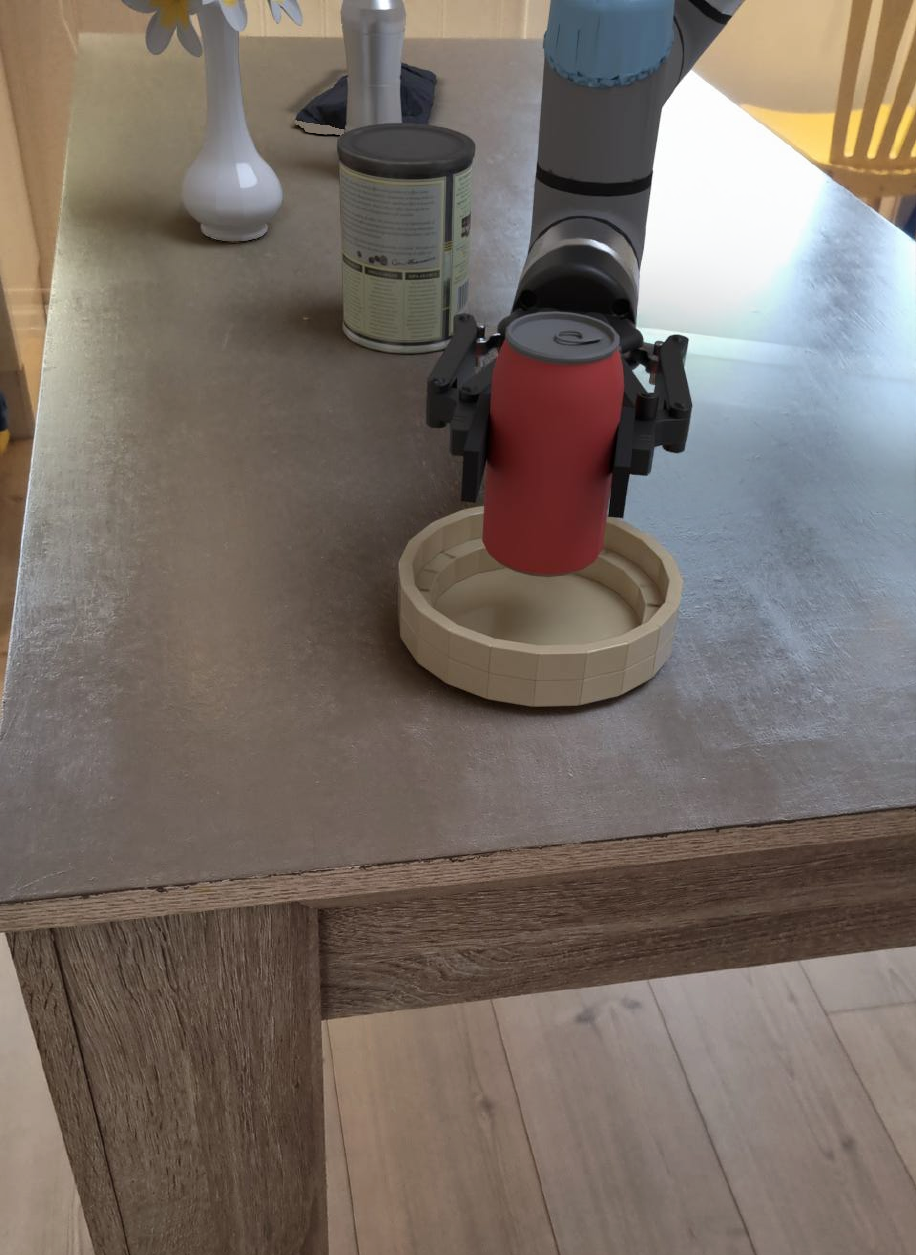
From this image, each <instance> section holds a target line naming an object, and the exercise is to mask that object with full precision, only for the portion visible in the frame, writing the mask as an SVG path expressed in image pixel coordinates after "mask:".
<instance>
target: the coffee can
mask: <svg viewBox="0 0 916 1255" xmlns="http://www.w3.org/2000/svg"><path fill="white" fill-rule="evenodd" d="M336 151H337V154H338V181H339V185H338V186H339V214H340V216H339V217H340V221H339V222H340V244H341V248H340V250H341V251H340V252H341V282H342V284H341V285H342V290H341V291H342V316H343V317H342V318H343V320H342V331H343V334H344V335H345V336H346V337H347V338H348V339H349V340H350V341H351V342H354V343H355V344H357V345H359V346H362V347H364V348H366V349H369V350H374V351H377V352H378V351H380V352H381V353H382V352H383V353H390V354H404V355H405V354H407V355H408V354H409V355H410V354H412V355H413V354H424V353H433V352H438V351H442V350H445V348H446V347H447V345H448V344H449V342H450V340H451V339H452V337H453V319H454V316H455V315H457V314H462V313H466V314H468V300H469V299H468V298H469V296H468V295H469V276H470V274H469V273H470V272H469V271H470V252H471V251H470V250H471V246H470V245H471V223H472V222H471V221H472V198H473V197H472V195H473V194H472V193H473V168H474V165H473V164H474V158H475V155H476V143H475V141H474V140H473V139H472V138H471V137H470V136H468V135H466V134H464V133H463V132H460V131H457V130H454V129H451V128H448V127H444V126H437V125H435V124H434V125H432V124H427V125H425V124H414V123H385V124H376V125H368V126H364V127H359V128H356V129H353V130H350V131H348V132H346V133H344V134H342V135H341V136H338V137H337V140H336Z"/></svg>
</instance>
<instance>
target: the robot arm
mask: <svg viewBox="0 0 916 1255" xmlns="http://www.w3.org/2000/svg"><path fill="white" fill-rule="evenodd" d="M746 1H747V0H550V1H549V10H548V17H547V18H548V19H547V26H546V30H545V32H544V34H543V38H542V49H543V70H542V71H543V72H542V87H541V100H540V115H539V130H538V145H537V159H536V160H537V161H536V170H535V178H534V187H533V188H534V189H533V190H534V191H533V200H532V202H533V203H532V215H531V225H530V226H531V229H530V238H529V244H528V250H527V255H526V258H525V261H524V264H523V268H522V271H521V273H520V277H519V281H518V283H517V284H518V285H517V289H516V292H515V295H514V299H513V304H512V307H511V310H510V314H509V315H507V316H506V317H504V318H501V320H500V321H499V323H498V325H497V327H496V326H495V327H493V326H492V327H491V326H490V327H489V326H488V327H486V324H485V323H483V322H476V318H475V316H474V315H472V314H469V313H467V314H466V313H462V314H457V315H455V316H454V319H453V337H452V339H451V340H450V342H449V344H448V345H447V347H446V348H445V349H443V352H442V353H441V355H440V357H439V359H438V360H437V362H436V363H435V365H434V367H433V368H432V370H431V372H430V373H429V375H428V377H427V380H426V399H425V400H426V403H425V405H426V406H425V414H426V415H425V425H426V426H428V427H429V428H431V429H443V428H446V427H448V425H449V440H448V441H449V442H448V452H449V453H450V455H451V456H454V457H455V456H456V457H462V466H461V467H462V469H461V470H462V471H461V488H460V489H461V490H460V502H464V503H473V504H476V503H477V500H478V498H479V493H480V490H481V485H482V482H483V476H484V473H485V469H486V467H487V453H488V437H489V421H490V405H491V389H492V376H493V369H494V365H495V362H496V358H497V356H496V357H495V358H493V359H492V360H491V361H490V362H489V363H487V364H486V365H485V366H484V358H485V357H488V356H489V354H490V352H492V351H496V352H497V354H498V353H499V351H500V349H501V347H502V345H503V343H504V341H505V339H506V338H505V334H506V327H507V326H508V325H509V324H511V323H512V322H513V321H514V320H515V319H518V318H520V317H522V316H525V315H529V314H534V313H539V312H569V313H576V314H581V315H586V316H590V317H593V318H595V319H598V320H601V321H603V322H605V323H606V324H608V325H610V326H611V327H612V328H613V329H614V330H615V331H616V333H617V334H618V335H619V342H620V343H619V347H618V349H619V353H620V356H621V360H622V364H623V375H624V393H623V401H622V408H621V416H620V422H619V426H618V434H617V441H616V449H615V456H614V464H613V471H612V481H611V490H610V498H609V505H608V513H607V515H608V517H614V518H618V519H624V517H625V510H626V502H627V495H628V489H629V480H630V475H633V476H642V477H647V476H648V475H649V474H651V471H652V468H653V461H654V454H655V448H656V447H661V446H662V449H663V450H664V451H665V452H668V453H671V454H680V453H683V452H685V450H686V445H687V441H688V436H689V429H690V423H691V417H692V410H693V406H694V405H693V401H692V396H691V392H690V387H689V383H688V378H687V373H686V368H685V367H686V360H687V353H688V347H689V341H690V339H689V337H687V336H685V335H682V334H677V333H675V334H669V335H668V336H667V337H666V339H665V340H664V341H663V340H656V341H654V343H650V342H645V339H644V336H643V333H642V332H641V330H639V329H638V328H637V320H638V307H639V306H638V305H639V297H640V287H641V286H640V280H641V279H640V278H641V274H640V272H641V266H642V262H643V261H642V260H643V256H644V251H645V242H646V241H645V240H646V233H647V232H646V231H647V222H648V216H649V207H650V199H651V192H652V184H653V177H654V163H655V158H656V152H657V145H658V138H659V131H660V124H661V116H662V112H663V111H662V110H663V108H664V106H665V105H666V103H667V102H668V100H669V99H670V97H671V96H672V95H673V93H674V91H675V90H676V88H677V87H678V86H679V84H680V83H681V82H682V81H683V80H684V79H685V77H686V76H687V75H688V74H689V73H690V71H691V70H692V69H693V67H694V66H695V65H696V63H697V62H698V61H699V59H700V58H701V57H702V56H703V54H704V53H705V52H706V51H707V50H708V49H709V47H710V46H711V45H712V43H713V42H714V41H715V40H716V39H717V37H718V36H719V35H720V34H721V33H722V31H723V30H724V29H725V27H726V26H727V25H728V23H729V21H731V19H732V18H733V17H734V15H735V14H736V13H737V12H738V10H739V9H740V8H741V6H742V5H743V4H744V3H745V2H746ZM639 365H641V366H643V367H644V368H645V372H646V373H647V374H649V378H648V383H649V385H651V386H654V388H653V391H652V392H648V390H646V387H645V386H644V385H643V384H642V382H641V381H640V380H639V378H638V377H637V375H636V374H635V372H634V371H633V370H635V369H636V368H638V367H639ZM483 366H484V367H483ZM476 368H481V369H480V370H479V371H478V372H476Z"/></svg>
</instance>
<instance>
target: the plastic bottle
mask: <svg viewBox="0 0 916 1255" xmlns="http://www.w3.org/2000/svg"><path fill="white" fill-rule="evenodd" d="M339 13H340V23H341V30H342V38H343V43H344V52H345V64H346V75H348V78H347V82H348V98H347V117H346V123H347V124H346V126H345V131H344V133H346V132H348V131H350V130H353V129H356V128H359V127H364V126H368V125H376V124H385V123H402V115H401V100H400V75H401V62H402V56H403V48H404V40H405V32H406V28H405V27H406V24H407V11H406V8H405V4H404V2H403V0H342V3H341V7H340V12H339Z"/></svg>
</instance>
